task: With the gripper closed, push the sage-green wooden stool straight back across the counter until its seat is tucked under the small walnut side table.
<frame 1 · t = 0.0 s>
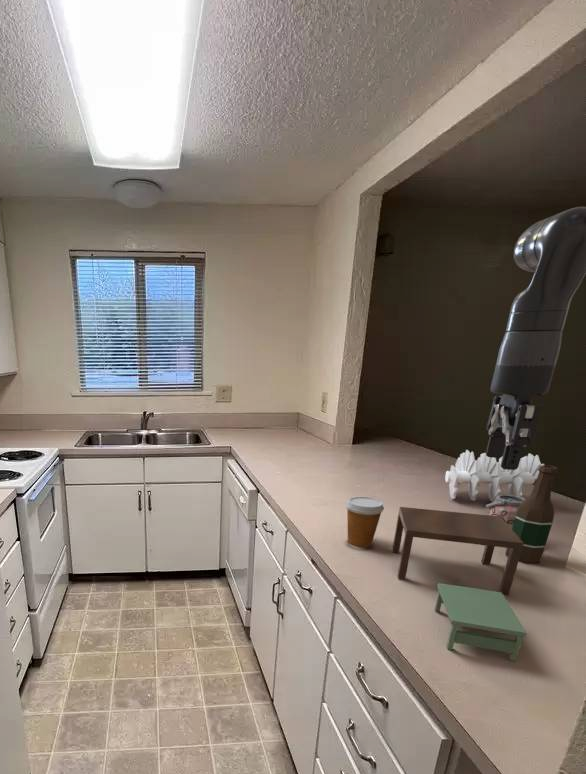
hand: (500, 462, 74), 33 cm above the countertop, tool pointing down, fingers open, 8 cm apart
beer bottle: (522, 558, 111), on the countertop
stool: (471, 633, 82), on the countertop
side table: (444, 570, 105), on the countertop
disposable coffee cup: (359, 542, 121), on the countertop
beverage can: (498, 538, 122), on the countertop
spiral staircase: (482, 501, 151), on the countertop
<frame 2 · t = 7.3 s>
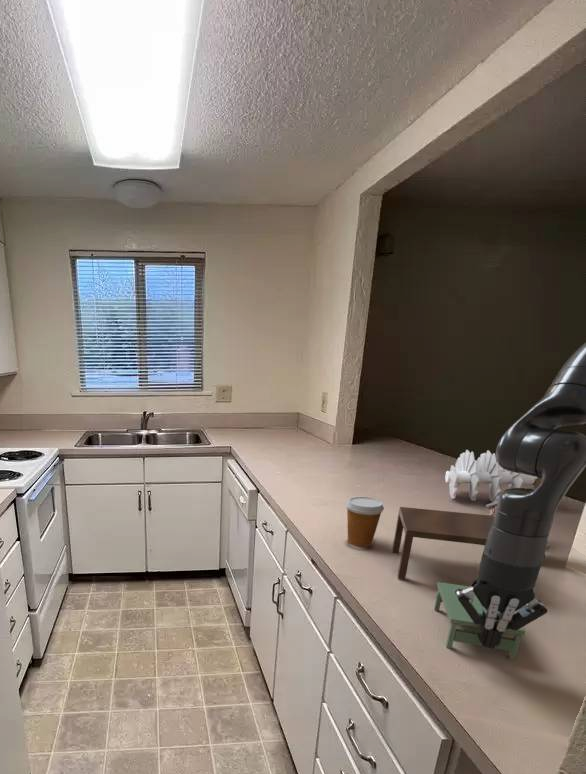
hand: (486, 644, 74), 3 cm above the countertop, tool pointing down, fingers closed
stool: (470, 632, 83), on the countertop, touching gripper
everything else where it was.
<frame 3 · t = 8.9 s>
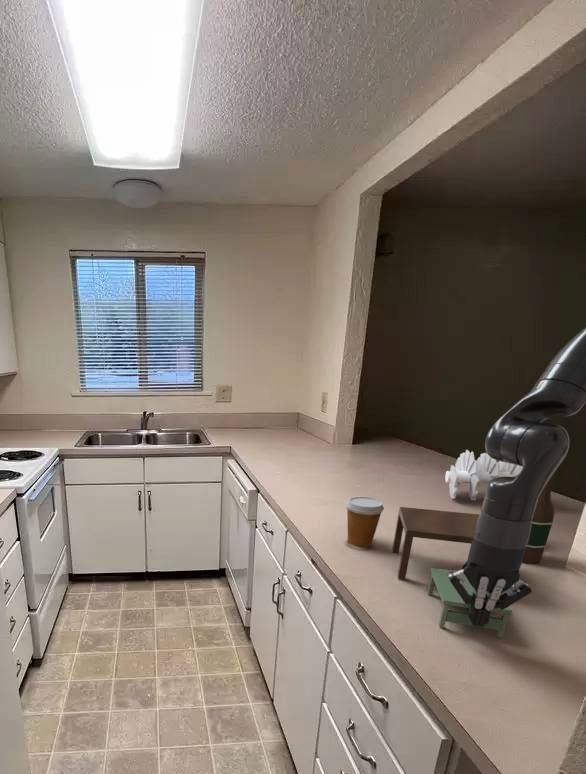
hand: (476, 623, 80), 3 cm above the countertop, tool pointing down, fingers closed
stool: (461, 613, 88), on the countertop, touching gripper
everything else where it was.
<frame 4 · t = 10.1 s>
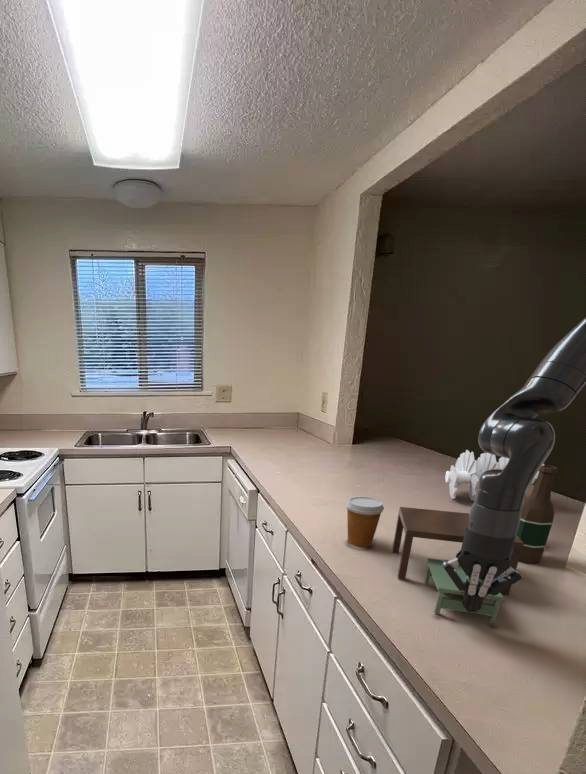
hand: (470, 609, 84), 3 cm above the countertop, tool pointing down, fingers closed
stool: (456, 601, 92), on the countertop, touching gripper
everything else where it was.
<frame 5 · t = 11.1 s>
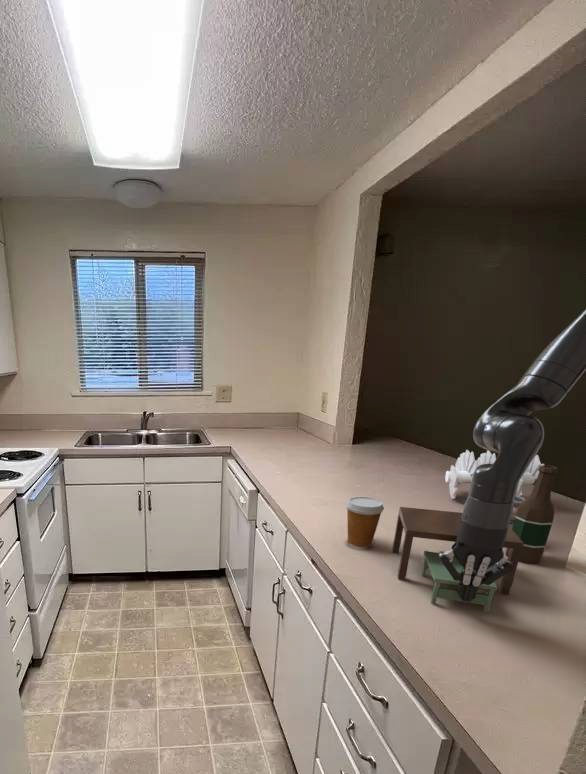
hand: (465, 599, 88), 3 cm above the countertop, tool pointing down, fingers closed
stool: (452, 592, 96), on the countertop, touching gripper
everything else where it was.
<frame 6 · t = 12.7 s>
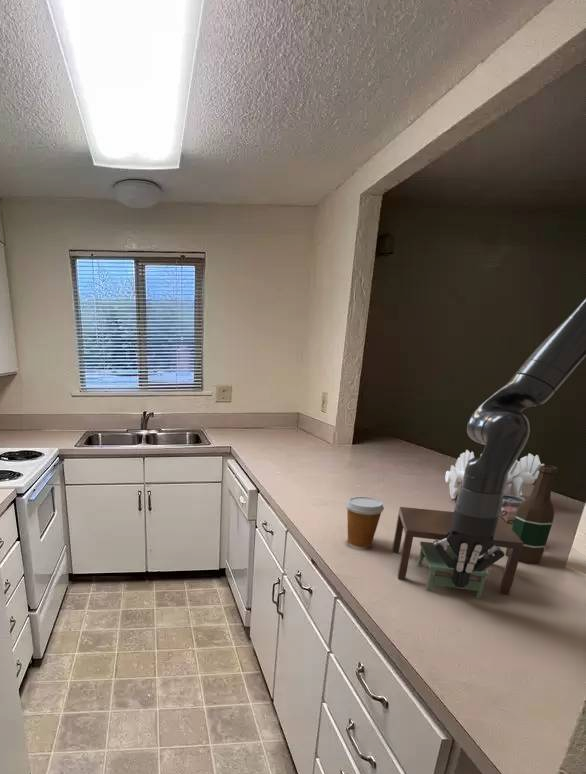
hand: (458, 585, 93), 3 cm above the countertop, tool pointing down, fingers closed
stool: (446, 579, 101), on the countertop, touching gripper
everything else where it was.
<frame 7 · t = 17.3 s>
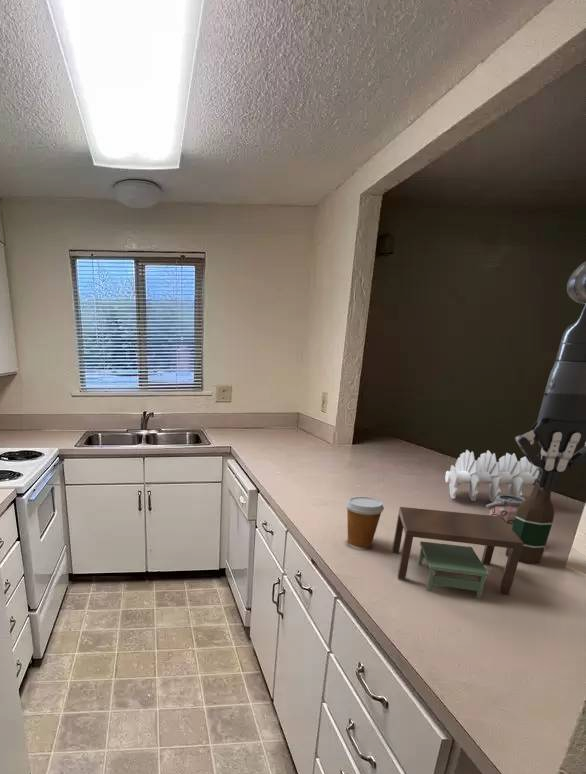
hand: (545, 489, 77), 27 cm above the countertop, tool pointing down, fingers closed
stool: (446, 579, 101), on the countertop
everything else where it was.
at the end: stool inside the target area on the side table (5.8 cm from its centre), point 0.0 cm above the side table's base; stool tilted 0°; stool moved 21.2 cm from its start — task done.
